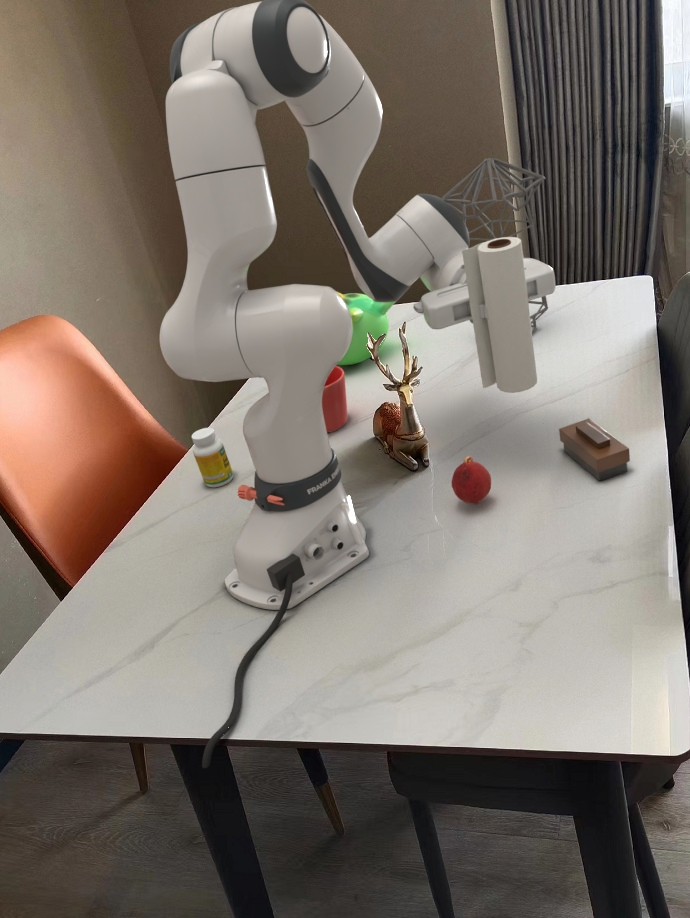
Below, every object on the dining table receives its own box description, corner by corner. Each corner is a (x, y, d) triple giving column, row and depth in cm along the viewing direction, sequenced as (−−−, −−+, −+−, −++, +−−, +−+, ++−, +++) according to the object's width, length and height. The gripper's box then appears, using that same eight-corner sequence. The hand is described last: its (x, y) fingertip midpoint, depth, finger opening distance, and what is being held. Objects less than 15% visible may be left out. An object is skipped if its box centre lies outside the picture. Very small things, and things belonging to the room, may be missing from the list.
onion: (483, 516, 126) (475, 470, 121) (449, 511, 129) (440, 465, 124) (500, 495, 129) (493, 449, 125) (467, 490, 132) (458, 445, 128)
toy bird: (353, 339, 196) (338, 277, 188) (413, 344, 187) (399, 278, 179) (303, 374, 186) (285, 309, 178) (364, 381, 176) (347, 312, 168)
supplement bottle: (204, 477, 155) (187, 431, 150) (233, 469, 155) (216, 422, 150) (205, 491, 150) (187, 443, 145) (235, 482, 151) (218, 435, 146)
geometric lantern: (460, 345, 181) (430, 172, 162) (505, 316, 189) (482, 148, 170) (520, 354, 170) (496, 170, 151) (565, 323, 178) (548, 145, 159)
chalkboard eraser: (561, 450, 136) (558, 422, 134) (590, 440, 137) (588, 412, 134) (599, 483, 127) (596, 453, 124) (630, 471, 127) (628, 442, 125)
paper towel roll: (545, 379, 128) (530, 235, 117) (522, 396, 125) (503, 251, 114) (506, 372, 133) (488, 234, 121) (483, 389, 130) (461, 249, 118)
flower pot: (331, 441, 156) (318, 393, 151) (288, 433, 163) (274, 387, 157) (366, 414, 162) (355, 367, 157) (324, 408, 169) (311, 362, 164)
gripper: (405, 285, 130) (437, 308, 119) (528, 247, 133) (570, 266, 122) (413, 324, 134) (444, 351, 122) (532, 286, 136) (574, 309, 125)
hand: (508, 308), depth 122 cm, fingers closed on paper towel roll, 3 cm apart
